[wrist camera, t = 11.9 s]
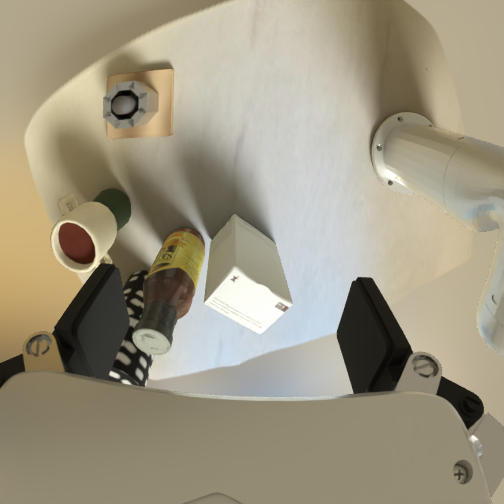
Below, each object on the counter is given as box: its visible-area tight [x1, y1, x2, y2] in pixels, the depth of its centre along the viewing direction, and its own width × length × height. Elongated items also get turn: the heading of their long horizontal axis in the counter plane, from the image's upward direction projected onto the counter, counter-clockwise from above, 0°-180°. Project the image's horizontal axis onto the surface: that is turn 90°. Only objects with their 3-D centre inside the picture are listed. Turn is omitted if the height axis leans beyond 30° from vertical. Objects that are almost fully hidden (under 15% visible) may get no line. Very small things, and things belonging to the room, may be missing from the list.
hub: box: [103, 81, 159, 129], centre depth 30 cm, size 6×6×5 cm
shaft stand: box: [107, 69, 174, 140], centre depth 30 cm, size 9×9×7 cm
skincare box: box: [204, 214, 293, 334], centre depth 37 cm, size 8×6×15 cm
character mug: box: [50, 189, 131, 273], centre depth 34 cm, size 11×7×13 cm, turn 22°
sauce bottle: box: [132, 228, 205, 355], centre depth 35 cm, size 7×6×20 cm
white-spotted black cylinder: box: [107, 271, 154, 387], centre depth 39 cm, size 8×8×20 cm
